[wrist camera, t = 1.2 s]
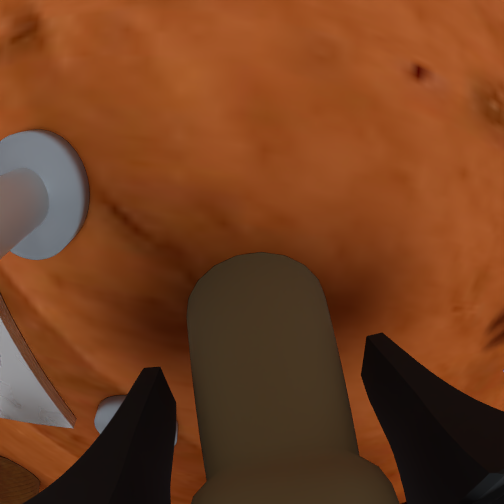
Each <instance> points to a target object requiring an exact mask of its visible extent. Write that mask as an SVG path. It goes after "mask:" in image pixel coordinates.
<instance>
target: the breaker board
mask: <svg viewBox="0 0 504 504" xmlns="http://www.w3.org/2000/svg"><path fill="white" fill-rule="evenodd" d="M0 417H1V418H6V419H11V420H17V421H22V422H28V423H35V424H42V425H49V426H58V427H67V428H74V425H75V422H76V418H75V416H74V415H73V414H72V412H71V411H70V410H69V408H68V407H67V406H66V404H65V403H64V402H63V400H62V399H61V397H60V396H59V395H58V393H57V392H56V390H55V389H54V387H53V386H52V384H51V383H50V382H49V380H48V378H47V377H46V375H45V374H44V372H43V371H42V369H41V368H40V366H39V364H38V363H37V361H36V360H35V358H34V356H33V355H32V353H31V351H30V350H29V348H28V346H27V344H26V343H25V341H24V339H23V337H22V336H21V334H20V332H19V330H18V328H17V326H16V325H15V323H14V321H13V319H12V317H11V315H10V313H9V311H8V309H7V307H6V305H5V303H4V301H3V299H2V297H1V294H0Z"/></svg>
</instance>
